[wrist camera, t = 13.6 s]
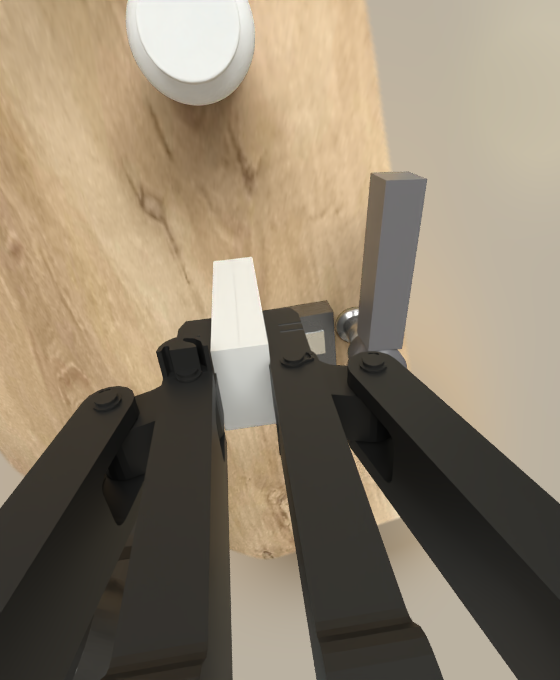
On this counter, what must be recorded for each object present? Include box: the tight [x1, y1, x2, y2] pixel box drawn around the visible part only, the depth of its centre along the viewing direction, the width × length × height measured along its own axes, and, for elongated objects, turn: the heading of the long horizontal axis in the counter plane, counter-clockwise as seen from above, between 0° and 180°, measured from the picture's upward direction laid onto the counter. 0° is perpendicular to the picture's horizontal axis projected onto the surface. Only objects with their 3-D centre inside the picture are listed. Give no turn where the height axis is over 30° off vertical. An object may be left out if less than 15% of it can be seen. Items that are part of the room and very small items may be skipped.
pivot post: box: [336, 307, 359, 343], centre depth 41 cm, size 4×4×5 cm
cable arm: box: [348, 172, 427, 369], centre depth 34 cm, size 17×4×4 cm, turn 0°
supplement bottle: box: [126, 0, 255, 106], centre depth 25 cm, size 7×7×13 cm
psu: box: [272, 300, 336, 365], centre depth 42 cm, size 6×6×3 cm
